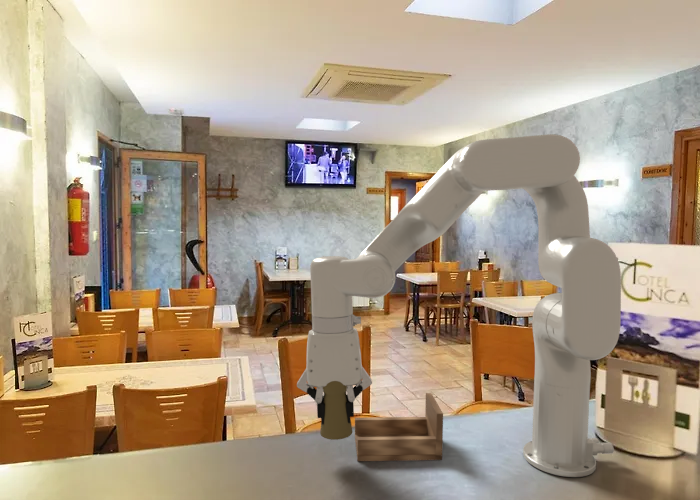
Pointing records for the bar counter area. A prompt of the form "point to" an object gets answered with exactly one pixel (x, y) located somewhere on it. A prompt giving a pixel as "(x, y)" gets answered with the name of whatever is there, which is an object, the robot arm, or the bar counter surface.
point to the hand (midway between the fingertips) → (335, 419)
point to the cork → (335, 412)
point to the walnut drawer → (401, 436)
